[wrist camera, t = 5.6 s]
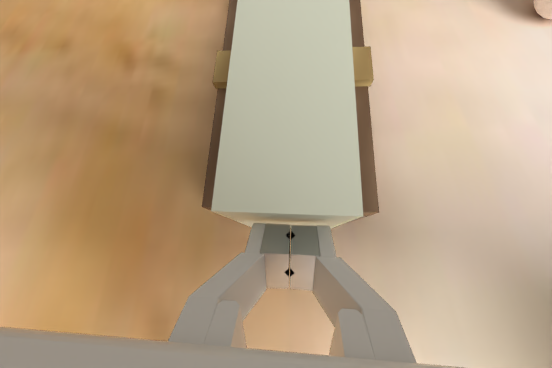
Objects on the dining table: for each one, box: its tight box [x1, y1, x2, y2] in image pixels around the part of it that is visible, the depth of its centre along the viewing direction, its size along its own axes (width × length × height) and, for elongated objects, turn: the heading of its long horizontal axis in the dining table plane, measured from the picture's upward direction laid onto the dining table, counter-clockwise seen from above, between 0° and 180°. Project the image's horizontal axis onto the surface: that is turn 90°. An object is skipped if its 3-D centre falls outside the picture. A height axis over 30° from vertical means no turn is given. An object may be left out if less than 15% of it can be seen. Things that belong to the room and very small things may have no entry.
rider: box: [211, 0, 363, 229], centre depth 12 cm, size 5×12×7 cm, turn 178°
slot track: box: [202, 0, 379, 217], centre depth 15 cm, size 10×20×3 cm, turn 178°
